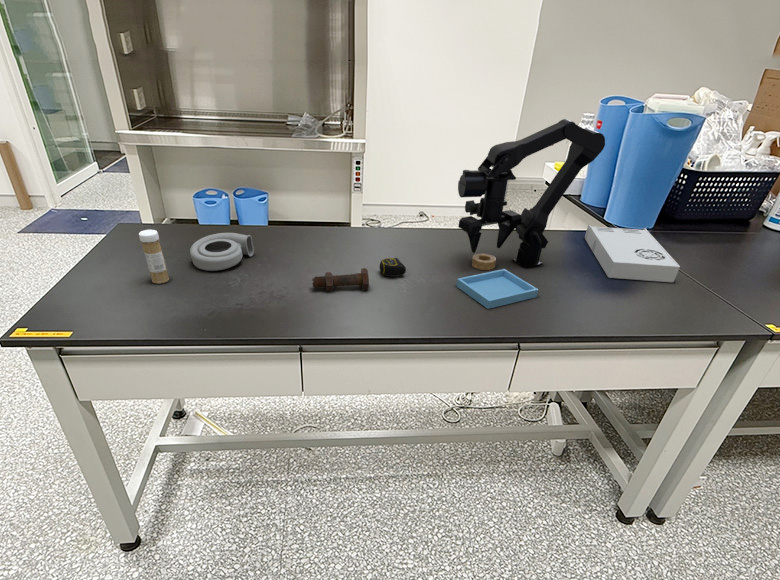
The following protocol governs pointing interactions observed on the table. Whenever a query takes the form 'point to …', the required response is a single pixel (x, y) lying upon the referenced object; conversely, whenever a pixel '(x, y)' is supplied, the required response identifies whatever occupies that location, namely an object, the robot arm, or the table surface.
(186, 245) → the table surface
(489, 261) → the wooden ring
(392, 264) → the tape measure
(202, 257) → the turbocharger housing
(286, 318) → the table surface
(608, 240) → the power supply unit
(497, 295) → the tray
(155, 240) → the sprinkles bottle
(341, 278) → the bolt
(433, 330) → the table surface
